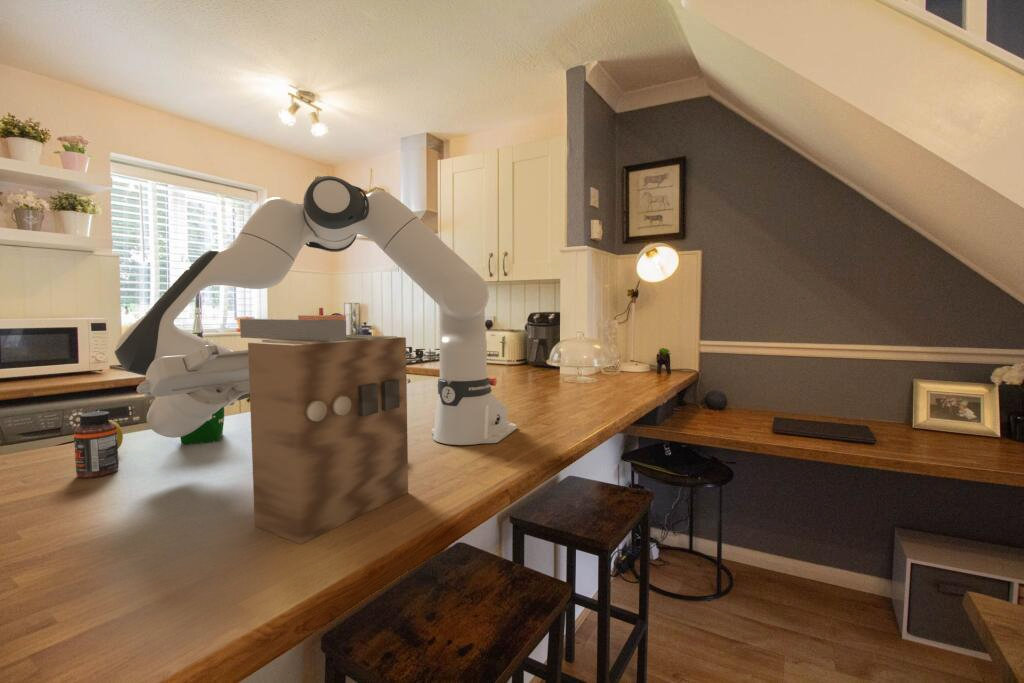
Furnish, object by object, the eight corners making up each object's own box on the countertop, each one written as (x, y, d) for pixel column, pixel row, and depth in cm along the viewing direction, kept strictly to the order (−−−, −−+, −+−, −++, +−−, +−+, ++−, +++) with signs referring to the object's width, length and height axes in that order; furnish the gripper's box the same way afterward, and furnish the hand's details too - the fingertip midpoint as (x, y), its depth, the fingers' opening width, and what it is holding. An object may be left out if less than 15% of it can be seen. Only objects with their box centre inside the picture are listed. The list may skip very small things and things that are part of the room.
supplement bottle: (70, 475, 86) (66, 414, 85) (110, 466, 91) (106, 408, 90) (85, 481, 83) (81, 418, 82) (125, 471, 88) (122, 411, 87)
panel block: (365, 481, 83) (362, 334, 81) (412, 493, 77) (410, 335, 76) (254, 526, 66) (247, 340, 64) (305, 546, 60) (299, 343, 58)
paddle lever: (263, 336, 74) (262, 314, 74) (351, 340, 64) (350, 315, 64) (235, 337, 70) (234, 315, 70) (323, 342, 60) (323, 315, 60)
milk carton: (222, 441, 108) (218, 355, 107) (174, 446, 104) (170, 356, 103) (227, 432, 116) (224, 352, 114) (183, 437, 112) (179, 353, 111)
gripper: (126, 376, 71) (162, 332, 65) (257, 362, 89) (295, 326, 82) (138, 414, 70) (175, 372, 64) (268, 392, 88) (308, 358, 81)
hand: (244, 346), depth 73 cm, fingers open, 8 cm apart
